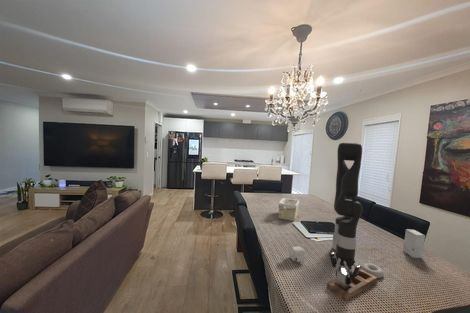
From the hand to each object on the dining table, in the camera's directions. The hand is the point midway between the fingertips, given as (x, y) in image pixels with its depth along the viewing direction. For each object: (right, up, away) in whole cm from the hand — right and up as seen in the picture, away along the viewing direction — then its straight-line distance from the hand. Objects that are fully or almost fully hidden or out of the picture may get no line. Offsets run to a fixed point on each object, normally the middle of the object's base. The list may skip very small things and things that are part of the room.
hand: (343, 280), depth 93 cm
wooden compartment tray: (+7, -5, +4) cm, 9 cm away
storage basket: (+1, 0, +98) cm, 98 cm away
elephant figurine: (-14, -3, +25) cm, 28 cm away
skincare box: (+63, -6, +36) cm, 73 cm away
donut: (+23, -6, +15) cm, 28 cm away
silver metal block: (0, -4, 0) cm, 4 cm away
